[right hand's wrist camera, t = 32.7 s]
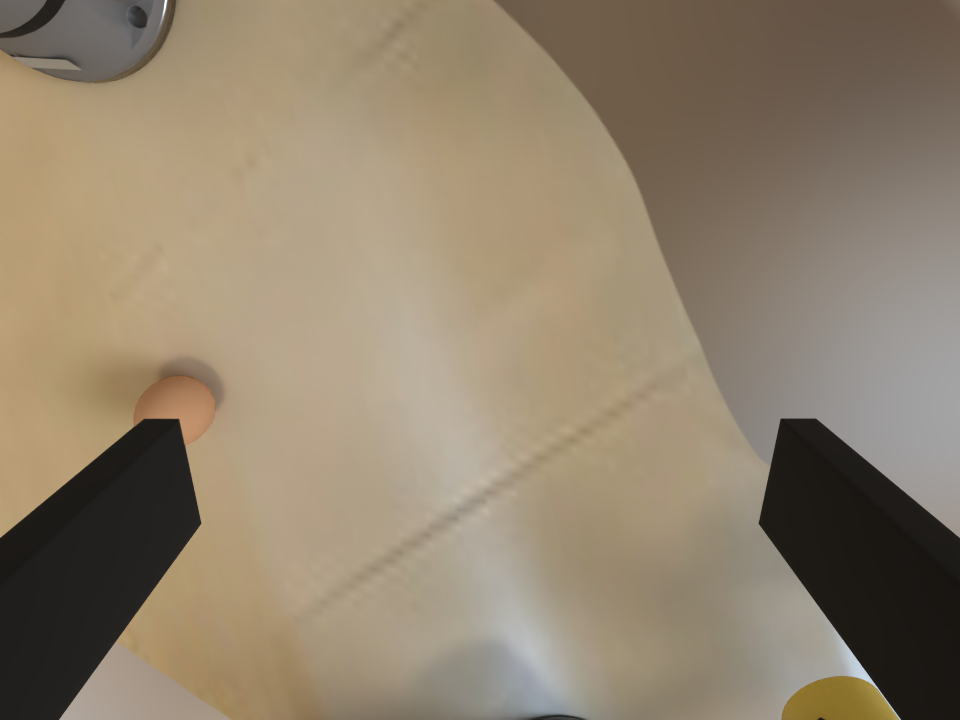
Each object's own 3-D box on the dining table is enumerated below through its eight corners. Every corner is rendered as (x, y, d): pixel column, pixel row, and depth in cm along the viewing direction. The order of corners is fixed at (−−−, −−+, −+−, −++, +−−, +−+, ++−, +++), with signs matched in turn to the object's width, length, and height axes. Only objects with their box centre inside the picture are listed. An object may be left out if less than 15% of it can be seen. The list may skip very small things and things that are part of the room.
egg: (203, 354, 53) (158, 389, 45) (240, 407, 54) (203, 449, 47) (150, 380, 53) (97, 418, 46) (188, 431, 55) (143, 476, 48)
